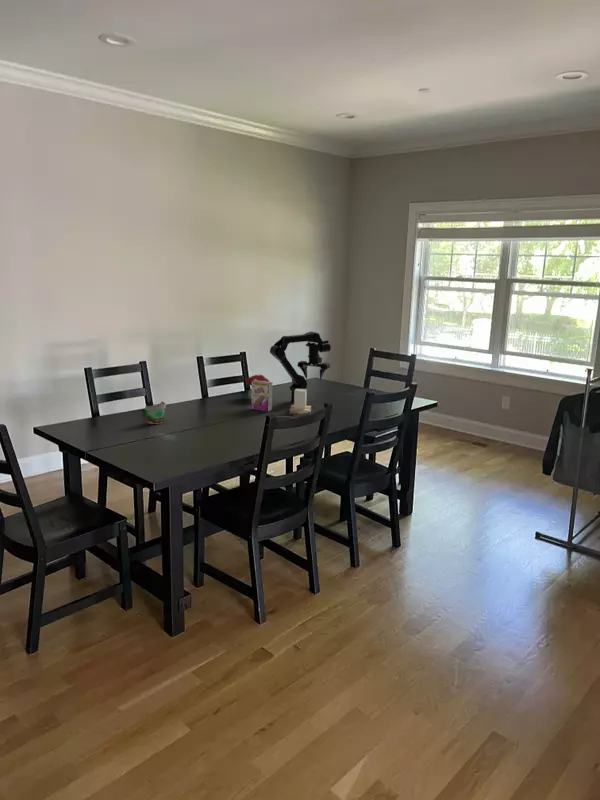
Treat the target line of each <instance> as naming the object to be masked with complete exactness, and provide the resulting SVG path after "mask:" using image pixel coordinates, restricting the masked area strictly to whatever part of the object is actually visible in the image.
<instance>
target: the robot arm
mask: <svg viewBox="0 0 600 800" xmlns="http://www.w3.org/2000/svg"><path fill="white" fill-rule="evenodd" d="M303 342H306V344H305V347H308V355H307V358H308V361H307V360H300V361H298V362H297V368H299V369H300V370H301V371H302V373H303V375H301V374H298V372H297V371H296V369H295V368H294V367H293V365H292V364H291V362H290V361H289V359H288V358H287V356H286V350H287V349H288V345H289V344H293V343H303ZM331 349H332V346H331V344H330V341H329V340H322V338H321V335H320V333H318V332H315V331H309V332H305V333H303V334H294V335H283V336H282V337H281V338H280V339H279V340H278V341H275V343H274V344H273V345H272V346H271V347H270V350H269V353H270V354H271V355H272V357H274V358H275V360H277V361H278V362H279V363H280V364H281V365H282V367H283V369H284V370H285V371H286V373H287V374H288V375H289V376H290V378H291V382H292V384H291V385H290V387H289V390H290V391H291V395H290V396H291V397H290V398H291V399H290V401H289V402H290V403H293V404H294V391H295V389H307V387H308V381H307V380H306V379H308V367H315V368H320V369H319V380H320V381H322V378H323V377H324V373H325V372H326V371H327V370H328V369H330V368H331V364H330V363H329V362H323V357H321V356H320V353H328V352H329V353H330V351H331Z"/></svg>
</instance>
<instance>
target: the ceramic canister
mask: <svg viewBox="0 0 600 800" xmlns="http://www.w3.org/2000/svg"><path fill="white" fill-rule="evenodd" d="M307 392H308V388H306V389H295V391H294V403H293V405H294V409H305V408H306V405H307V397H308V396H307V395H308V394H307Z"/></svg>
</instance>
